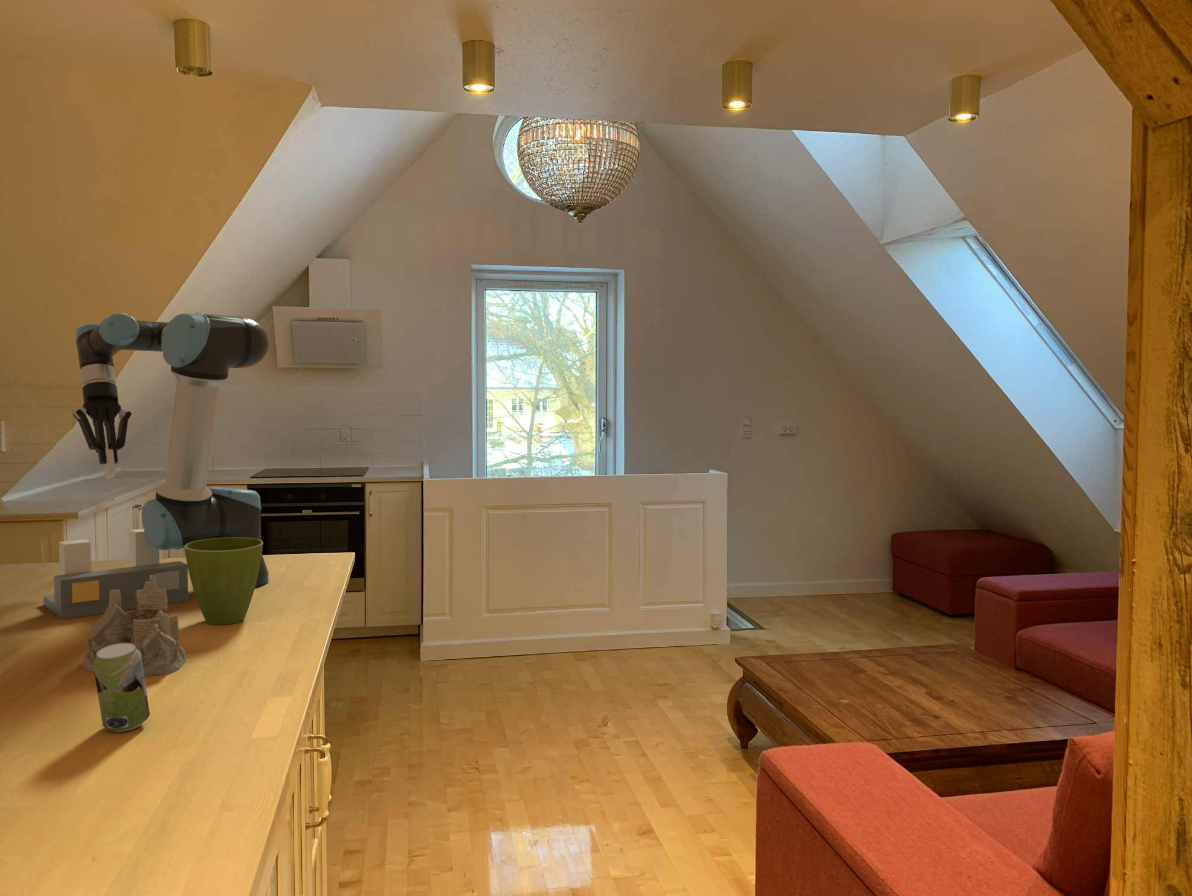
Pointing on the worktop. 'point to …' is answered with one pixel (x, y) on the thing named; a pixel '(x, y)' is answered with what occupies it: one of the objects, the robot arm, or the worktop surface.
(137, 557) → the key
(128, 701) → the beverage can
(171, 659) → the ceramic cottage
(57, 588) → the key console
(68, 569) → the key
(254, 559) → the flower pot
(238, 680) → the worktop surface
